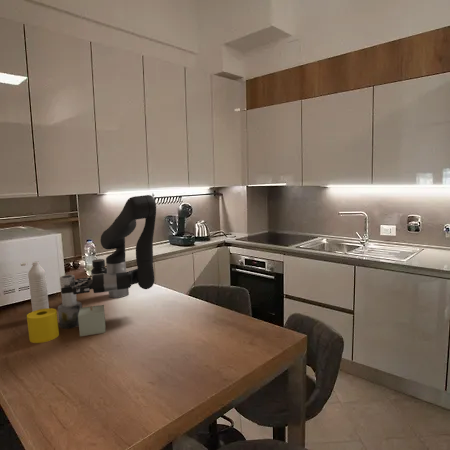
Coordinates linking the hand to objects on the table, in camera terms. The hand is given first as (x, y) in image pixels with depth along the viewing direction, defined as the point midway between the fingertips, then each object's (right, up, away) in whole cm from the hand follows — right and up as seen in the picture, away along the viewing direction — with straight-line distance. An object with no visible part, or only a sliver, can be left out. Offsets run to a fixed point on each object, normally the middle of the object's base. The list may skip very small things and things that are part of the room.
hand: (62, 287), depth 144 cm
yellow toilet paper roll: (-3, -17, -9) cm, 20 cm away
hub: (+2, -15, +3) cm, 16 cm away
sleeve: (+2, -7, +2) cm, 8 cm away
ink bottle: (-8, -7, +65) cm, 66 cm away
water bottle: (-15, -15, +10) cm, 23 cm away
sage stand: (+14, -16, -4) cm, 21 cm away
